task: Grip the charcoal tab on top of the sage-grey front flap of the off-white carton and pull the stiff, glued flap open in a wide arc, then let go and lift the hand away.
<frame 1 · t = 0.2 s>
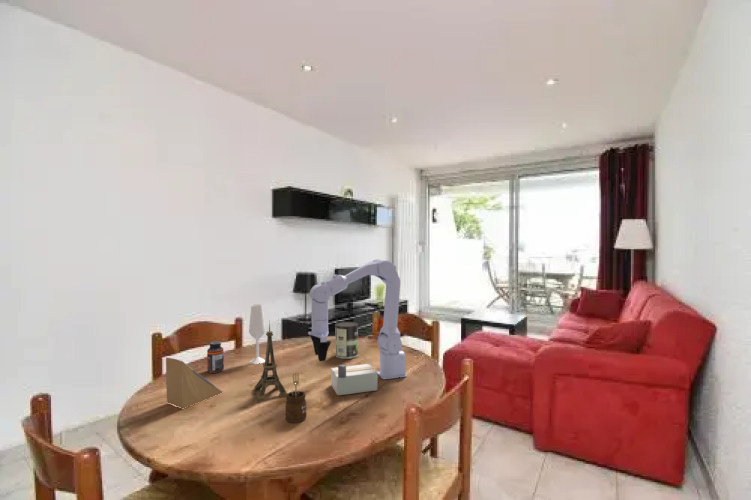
hand: (320, 357, 135), 10 cm above the table, tool pointing down, fingers open, 7 cm apart
champagne flute: (257, 361, 162), on the table
eiffel tower: (270, 394, 128), on the table
sandwich container: (197, 399, 125), on the table
utensil holder: (296, 418, 110), on the table
supplement bottle: (215, 371, 151), on the table
coffee can: (346, 355, 171), on the table
flap: (357, 378, 128), point 5 cm above the table, hinge at 0.0°
carton: (353, 387, 134), on the table
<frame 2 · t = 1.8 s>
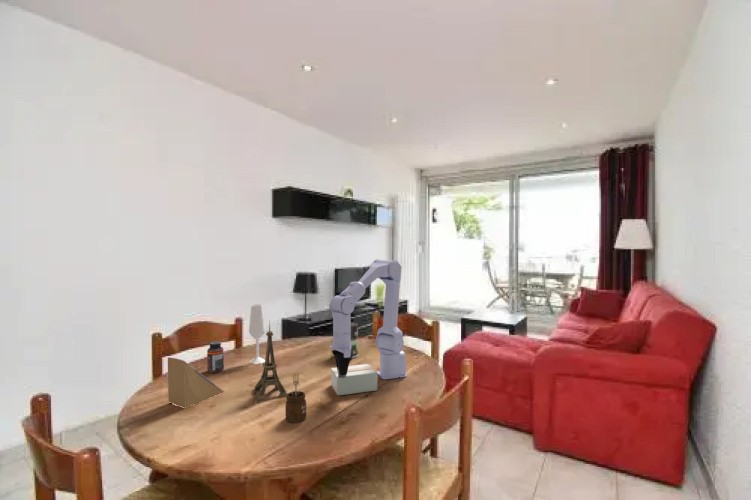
hand: (342, 373, 126), 7 cm above the table, tool pointing down, fingers closed on flap, 3 cm apart
flap: (357, 378, 128), point 5 cm above the table, hinge at 0.0°, touching gripper
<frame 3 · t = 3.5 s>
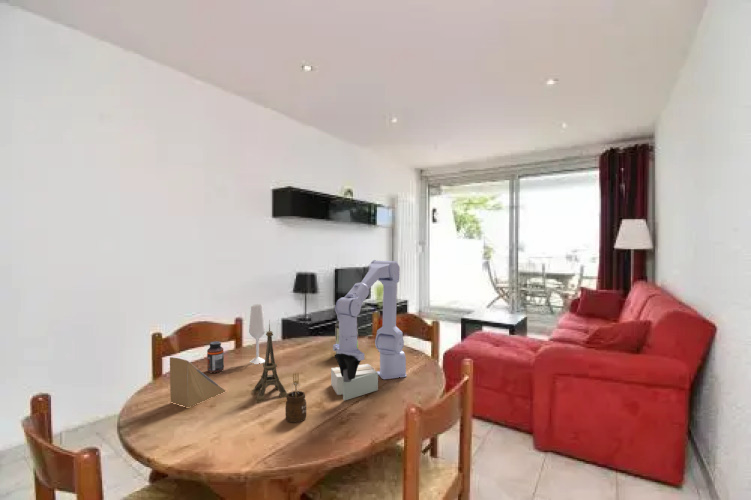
hand: (348, 377, 123), 7 cm above the table, tool pointing down, fingers open, 3 cm apart
flap: (361, 380, 126), point 5 cm above the table, hinge at 19.5°, touching gripper
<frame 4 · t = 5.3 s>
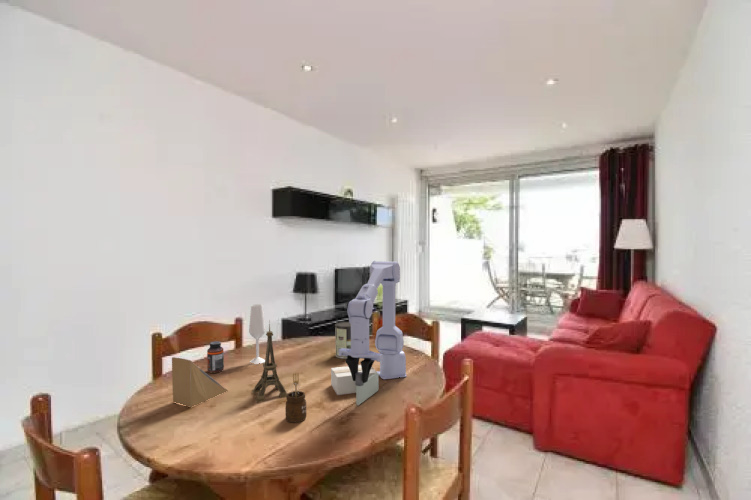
hand: (360, 381, 119), 7 cm above the table, tool pointing down, fingers open, 3 cm apart
flap: (367, 382, 124), point 5 cm above the table, hinge at 43.8°, touching gripper
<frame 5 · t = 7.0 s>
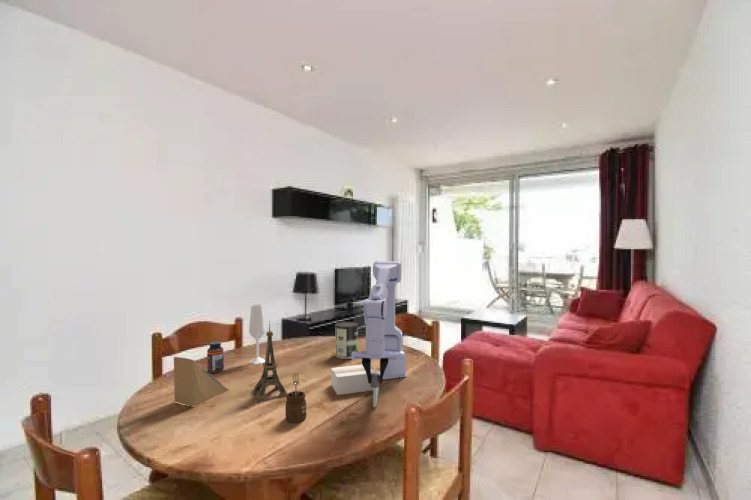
hand: (375, 382, 118), 7 cm above the table, tool pointing down, fingers open, 3 cm apart
flap: (376, 383, 123), point 5 cm above the table, hinge at 66.7°, touching gripper
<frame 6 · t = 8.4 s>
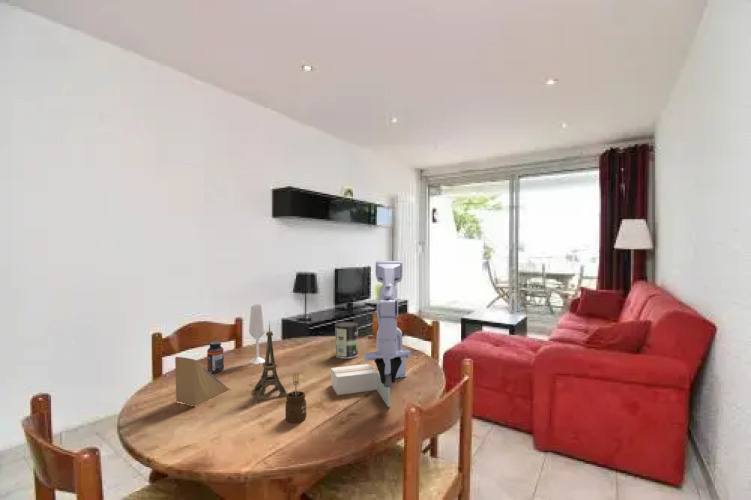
hand: (387, 382, 118), 7 cm above the table, tool pointing down, fingers closed on flap, 3 cm apart
flap: (383, 383, 124), point 5 cm above the table, hinge at 85.1°, touching gripper
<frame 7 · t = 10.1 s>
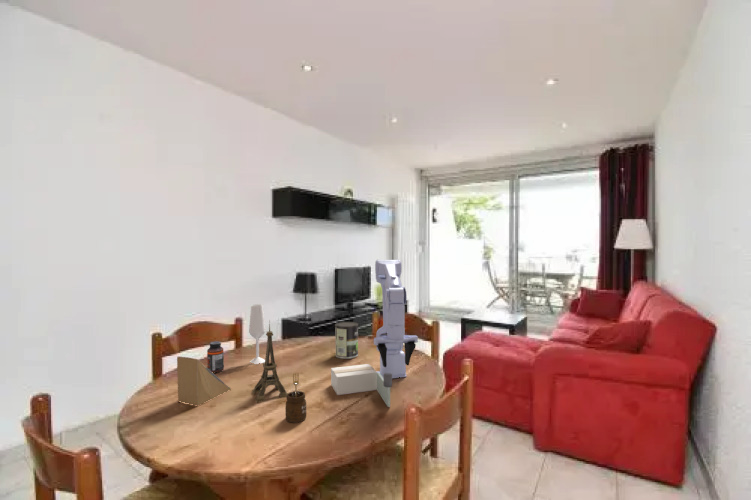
hand: (395, 365, 126), 10 cm above the table, tool pointing down, fingers open, 7 cm apart
flap: (383, 383, 124), point 5 cm above the table, hinge at 85.1°
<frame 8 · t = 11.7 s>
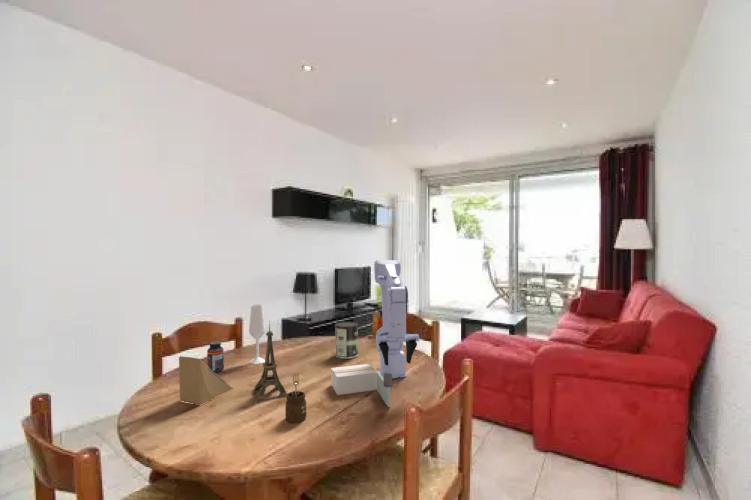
hand: (397, 363, 127), 10 cm above the table, tool pointing down, fingers open, 7 cm apart
at the end: flap at +85° (first picture: +0°); the gripper is holding nothing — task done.
